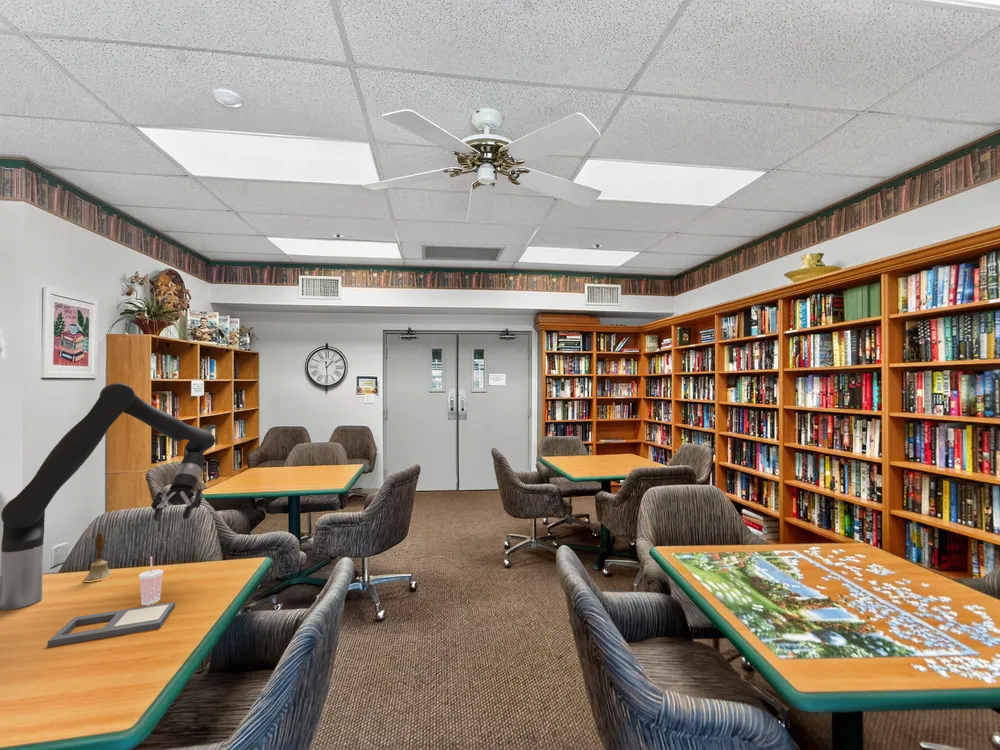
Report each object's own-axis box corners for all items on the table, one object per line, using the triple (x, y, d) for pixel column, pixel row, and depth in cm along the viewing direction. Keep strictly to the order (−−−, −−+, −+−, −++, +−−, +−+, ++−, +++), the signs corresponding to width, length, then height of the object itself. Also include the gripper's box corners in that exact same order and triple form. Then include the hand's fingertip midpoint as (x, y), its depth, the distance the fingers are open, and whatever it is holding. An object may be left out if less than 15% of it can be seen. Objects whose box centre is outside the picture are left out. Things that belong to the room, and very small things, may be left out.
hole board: (47, 647, 118) (47, 640, 118) (74, 622, 131) (74, 616, 131) (160, 628, 127) (160, 621, 127) (174, 606, 140) (174, 601, 140)
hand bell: (119, 574, 168) (120, 530, 168) (95, 583, 160) (96, 536, 160) (102, 573, 169) (102, 528, 170) (76, 582, 161) (77, 535, 162)
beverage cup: (158, 596, 148) (159, 551, 148) (166, 601, 144) (166, 555, 145) (135, 603, 143) (135, 557, 143) (142, 608, 139) (143, 561, 140)
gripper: (160, 473, 164) (142, 514, 152) (205, 471, 167) (190, 511, 155) (168, 486, 169) (151, 526, 157) (211, 483, 172) (197, 523, 160)
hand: (170, 519), depth 156 cm, fingers open, 8 cm apart
